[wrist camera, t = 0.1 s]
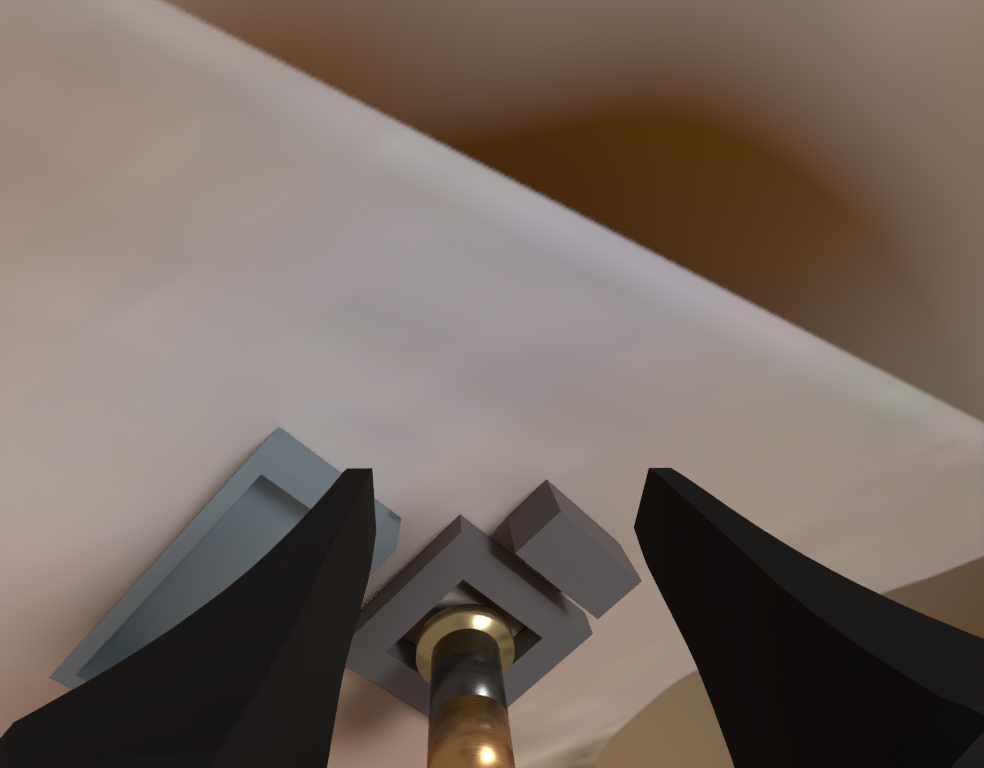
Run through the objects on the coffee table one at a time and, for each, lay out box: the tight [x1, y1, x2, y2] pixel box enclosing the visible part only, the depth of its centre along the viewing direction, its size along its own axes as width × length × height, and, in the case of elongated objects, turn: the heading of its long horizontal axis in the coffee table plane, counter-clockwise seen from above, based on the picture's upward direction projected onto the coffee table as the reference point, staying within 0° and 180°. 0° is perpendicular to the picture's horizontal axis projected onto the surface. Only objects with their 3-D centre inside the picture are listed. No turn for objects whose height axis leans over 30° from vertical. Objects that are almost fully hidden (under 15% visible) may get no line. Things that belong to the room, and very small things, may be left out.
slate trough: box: [49, 427, 401, 689], centre depth 22 cm, size 16×8×3 cm, turn 136°
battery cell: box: [427, 628, 515, 768], centre depth 20 cm, size 4×4×6 cm
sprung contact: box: [416, 604, 515, 684], centre depth 24 cm, size 5×5×1 cm
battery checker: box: [345, 480, 642, 717], centre depth 24 cm, size 14×10×3 cm
